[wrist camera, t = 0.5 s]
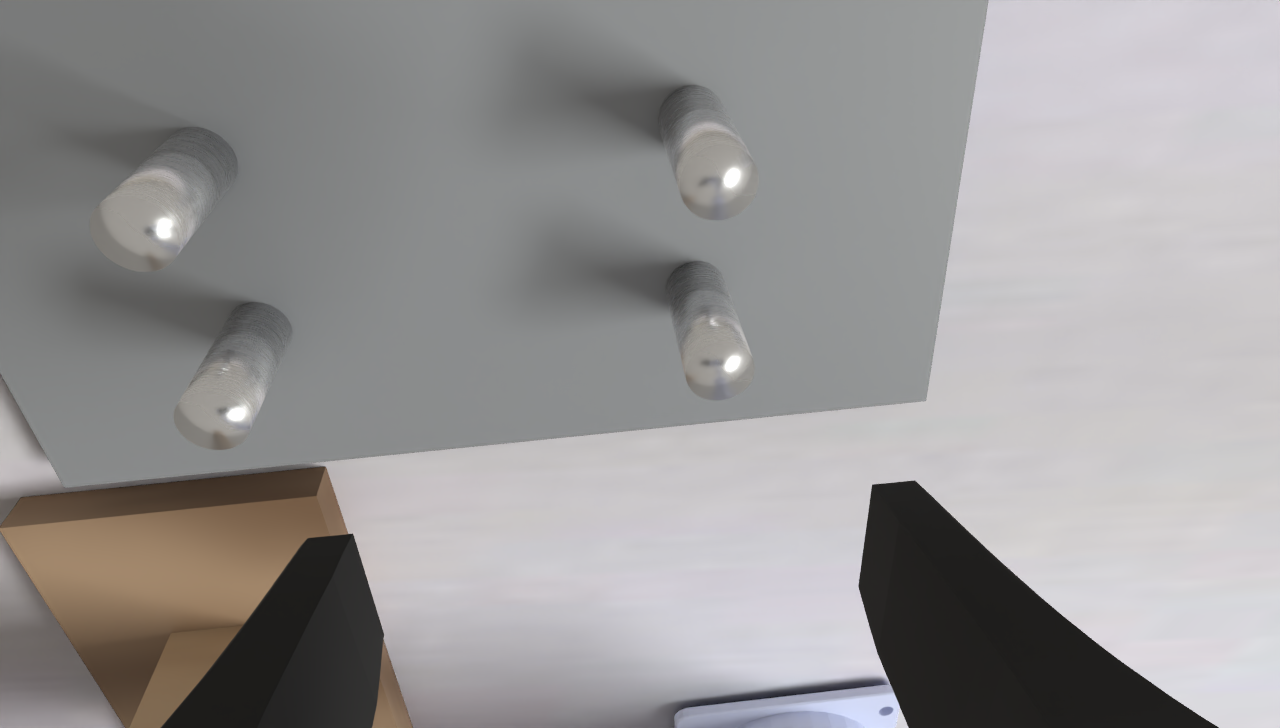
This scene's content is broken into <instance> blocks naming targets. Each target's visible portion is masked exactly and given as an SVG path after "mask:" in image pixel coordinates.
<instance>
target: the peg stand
mask: <svg viewBox="0 0 1280 728" xmlns="http://www.w3.org/2000/svg"><path fill="white" fill-rule="evenodd" d="M987 7H988V0H0V374H1V376H2V377H3V379H4V381H5V383H6V385H7V386H8V388H9V390H10V392H11V393H12V395H13V397H14V399H15V401H16V402H17V404H18V406H19V408H20V410H21V411H22V413H23V415H24V417H25V418H26V420H27V422H28V424H29V426H30V427H31V429H32V431H33V433H34V435H35V436H36V438H37V440H38V442H39V443H40V445H41V447H42V449H43V451H44V452H45V454H46V456H47V458H48V459H49V461H50V463H51V465H52V467H53V468H54V470H55V472H56V474H57V476H58V477H59V479H60V481H61V483H62V484H63V486H64V488H68V487H77V486H87V485H97V484H107V483H117V482H127V481H137V480H147V479H157V478H167V477H177V476H187V475H197V474H206V473H216V472H226V471H236V470H246V469H256V468H266V467H276V466H286V465H296V464H306V463H316V462H326V461H335V460H345V459H355V458H365V457H375V456H385V455H395V454H405V453H415V452H425V451H435V450H445V449H455V448H464V447H474V446H484V445H494V444H504V443H514V442H524V441H534V440H544V439H554V438H564V437H574V436H583V435H593V434H603V433H613V432H623V431H633V430H643V429H653V428H663V427H673V426H683V425H693V424H703V423H712V422H722V421H732V420H742V419H752V418H762V417H772V416H782V415H792V414H802V413H812V412H822V411H832V410H841V409H851V408H861V407H871V406H881V405H891V404H901V403H911V402H921V401H926V397H927V391H928V385H929V378H930V372H931V365H932V359H933V353H934V346H935V340H936V333H937V327H938V320H939V314H940V308H941V301H942V295H943V288H944V282H945V276H946V269H947V263H948V256H949V250H950V244H951V237H952V231H953V224H954V218H955V212H956V205H957V199H958V192H959V186H960V180H961V173H962V167H963V160H964V154H965V148H966V141H967V135H968V128H969V122H970V115H971V109H972V103H973V96H974V90H975V83H976V77H977V71H978V64H979V58H980V51H981V45H982V39H983V32H984V26H985V19H986V13H987Z"/></svg>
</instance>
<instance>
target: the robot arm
mask: <svg viewBox="0 0 1280 728" xmlns="http://www.w3.org/2000/svg"><path fill="white" fill-rule="evenodd" d="M859 590H860V594H861V597H862V601H863V604H864V608H865V612H866V615H867V619H868V622H869V626H870V629H871V633H872V636H873V639H874V643H875V646H876V649H877V653H878V655H879V658H880V660H881V663H882V665H883V667H884V670H885V672H886V675H887V677H888V679H889V682H890V684H891V685H879V686H870V687H862V688H853V689H844V690H836V691H827V692H818V693H810V694H801V695H792V696H784V697H775V698H766V699H758V700H749V701H740V702H732V703H723V704H714V705H706V706H697V707H688V708H684V709H681V710H680V711H678V712H677V713H676V714H675V717H674V725H675V728H896V724H897V719H898V713H899V708H901V710H902V713H903V715H904V717H905V720H906V722H907V724H908V727H909V728H1219V727H1217V726H1215V725H1214V724H1212V723H1210V722H1209V721H1207V720H1206V719H1204V718H1202V717H1201V716H1199V715H1198V714H1196V713H1195V712H1193V711H1192V710H1190V709H1189V708H1187V707H1186V706H1184V705H1183V704H1181V703H1180V702H1178V701H1177V700H1175V699H1174V698H1172V697H1171V696H1169V695H1168V694H1166V693H1165V692H1164V691H1162V690H1161V689H1159V688H1158V687H1156V686H1155V685H1154V684H1152V683H1151V682H1149V681H1148V680H1146V679H1145V678H1144V677H1142V676H1141V675H1139V674H1138V673H1137V672H1135V671H1134V670H1132V669H1131V668H1129V667H1128V666H1127V665H1125V664H1124V663H1122V662H1121V661H1120V660H1118V659H1117V658H1116V657H1114V656H1113V655H1112V654H1110V653H1109V652H1108V651H1106V650H1105V649H1104V648H1102V647H1101V646H1100V645H1098V644H1097V643H1096V642H1095V641H1093V640H1092V639H1091V638H1090V637H1088V636H1087V635H1086V634H1085V633H1083V632H1082V631H1081V630H1080V629H1078V628H1077V627H1076V626H1075V625H1073V624H1072V623H1071V622H1070V621H1068V620H1067V619H1066V618H1065V617H1063V616H1062V615H1061V614H1060V613H1059V612H1057V611H1056V610H1055V609H1054V608H1053V607H1052V606H1050V605H1049V604H1048V603H1047V602H1046V601H1044V600H1043V599H1042V598H1041V597H1040V596H1039V595H1037V594H1036V593H1035V592H1034V591H1033V590H1032V589H1031V588H1030V587H1028V586H1027V585H1026V584H1025V583H1024V582H1023V581H1022V580H1021V579H1019V578H1018V577H1017V576H1016V575H1015V574H1014V573H1013V572H1012V571H1010V570H1009V569H1008V568H1007V567H1006V566H1005V565H1004V564H1003V563H1001V562H1000V561H999V560H998V559H997V558H996V557H995V556H994V555H993V554H992V553H991V552H990V551H988V550H987V549H986V548H985V547H984V546H983V545H982V544H981V543H980V542H979V541H978V540H977V539H976V538H975V537H974V536H973V535H971V534H970V533H969V532H968V531H967V530H966V529H965V528H964V527H963V526H962V525H961V524H960V523H959V522H958V521H957V520H956V519H955V518H954V517H953V516H952V515H951V514H950V513H949V512H947V511H946V510H945V509H944V508H943V507H942V506H941V505H940V504H939V503H938V502H937V501H936V500H935V499H934V498H933V497H932V496H931V495H930V494H929V493H928V492H927V491H926V490H924V489H923V488H922V487H921V486H920V485H919V484H918V483H917V482H916V481H907V482H896V483H886V484H875V485H872V491H871V498H870V505H869V513H868V520H867V528H866V535H865V542H864V550H863V557H862V565H861V572H860V579H859ZM383 638H384V633H383V630H382V626H381V623H380V620H379V617H378V613H377V610H376V607H375V604H374V600H373V597H372V594H371V591H370V588H369V584H368V581H367V578H366V575H365V571H364V568H363V565H362V562H361V558H360V555H359V552H358V549H357V545H356V542H355V539H354V536H353V534H345V535H334V536H324V537H313V538H307V539H306V541H305V542H304V543H303V544H302V545H301V546H300V548H299V549H298V550H297V552H296V553H295V555H294V556H293V557H292V559H291V560H290V562H289V563H288V564H287V566H286V567H285V568H284V570H283V571H282V573H281V574H280V575H279V577H278V578H277V580H276V581H275V582H274V584H273V585H272V587H271V588H270V589H269V591H268V592H267V594H266V595H265V596H264V598H263V599H262V600H261V602H260V603H259V605H258V606H257V607H256V609H255V610H254V611H253V613H252V614H251V615H250V617H249V618H248V619H247V621H246V622H245V624H244V625H243V626H242V627H241V629H240V630H239V631H238V633H237V634H236V635H235V637H234V638H233V639H232V640H231V642H230V643H229V644H228V646H227V647H226V648H225V650H224V651H223V652H222V653H221V655H220V656H219V657H218V659H217V660H216V661H215V662H214V664H213V665H212V666H211V668H210V669H209V670H208V671H207V673H206V674H205V675H204V676H203V678H202V679H201V680H200V681H199V683H198V684H197V685H196V686H195V687H194V689H193V690H192V691H191V692H190V693H189V695H188V696H187V697H186V698H185V699H184V700H183V702H182V703H181V704H180V705H179V706H178V708H177V709H176V710H175V711H174V712H173V714H172V715H171V716H170V717H169V718H168V719H167V721H166V722H165V723H164V724H163V725H162V727H161V728H372V726H373V721H374V716H375V711H376V707H377V699H378V690H379V681H380V671H381V660H382V649H383Z"/></svg>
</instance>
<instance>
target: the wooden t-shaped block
mask: <svg viewBox="0 0 1280 728" xmlns="http://www.w3.org/2000/svg"><path fill="white" fill-rule="evenodd" d="M0 532H1V533H2V535H3V536H4V538H5V539H6V541H7V543H8V544H9V546H10V547H11V549H12V550H13V552H14V554H15V555H16V557H17V558H18V560H19V561H20V563H21V565H22V566H23V568H24V569H25V571H26V572H27V574H28V576H29V577H30V579H31V580H32V582H33V583H34V585H35V587H36V588H37V590H38V591H39V593H40V594H41V596H42V598H43V599H44V601H45V602H46V604H47V605H48V607H49V609H50V610H51V612H52V613H53V615H54V616H55V618H56V620H57V621H58V623H59V624H60V626H61V627H62V629H63V631H64V632H65V634H66V635H67V637H68V638H69V640H70V642H71V643H72V645H73V646H74V648H75V650H76V651H77V653H78V654H79V656H80V657H81V659H82V661H83V662H84V664H85V665H86V667H87V668H88V670H89V672H90V673H91V675H92V676H93V678H94V679H95V681H96V683H97V684H98V686H99V687H100V689H101V690H102V692H103V694H104V695H105V697H106V698H107V700H108V701H109V703H110V705H111V706H112V708H113V709H114V711H115V712H116V714H117V716H118V717H119V719H120V720H121V722H122V723H123V725H124V727H125V728H161V727H162V725H163V724H164V723H165V722H166V721H167V719H168V718H169V717H170V716H171V715H172V714H173V712H174V711H175V710H176V709H177V708H178V706H179V705H180V704H181V703H182V702H183V700H184V699H185V698H186V697H187V696H188V695H189V693H190V692H191V691H192V690H193V689H194V687H195V686H196V685H197V684H198V683H199V681H200V680H201V679H202V678H203V676H204V675H205V674H206V673H207V671H208V670H209V669H210V668H211V666H212V665H213V664H214V662H215V661H216V660H217V659H218V657H219V656H220V655H221V653H222V652H223V651H224V650H225V648H226V647H227V646H228V644H229V643H230V642H231V640H232V639H233V638H234V637H235V635H236V634H237V633H238V631H239V630H240V629H241V627H242V626H243V625H244V624H245V622H246V621H247V619H248V618H249V617H250V615H251V614H252V613H253V611H254V610H255V609H256V607H257V606H258V605H259V603H260V602H261V600H262V599H263V598H264V596H265V595H266V594H267V592H268V591H269V589H270V588H271V587H272V585H273V584H274V582H275V581H276V580H277V578H278V577H279V575H280V574H281V573H282V571H283V570H284V568H285V567H286V566H287V564H288V563H289V562H290V560H291V559H292V557H293V556H294V555H295V553H296V552H297V550H298V549H299V548H300V546H301V545H302V544H303V543H304V542H305V541H306V539H307V538H313V537H324V536H334V535H345V534H348V532H347V529H346V526H345V523H344V520H343V517H342V514H341V511H340V508H339V505H338V502H337V499H336V496H335V493H334V490H333V487H332V484H331V481H330V478H329V475H328V472H327V469H326V467H317V468H307V469H297V470H287V471H277V472H268V473H258V474H248V475H238V476H228V477H218V478H208V479H198V480H188V481H178V482H169V483H159V484H149V485H139V486H129V487H119V488H109V489H99V490H89V491H80V492H70V493H60V494H50V495H40V496H30V497H21V498H20V500H19V501H18V502H17V504H16V505H15V507H14V508H13V509H12V511H11V512H10V513H9V515H8V516H7V517H6V519H5V520H4V522H3V523H2V524H1V526H0ZM372 728H413V727H412V724H411V721H410V718H409V715H408V712H407V709H406V706H405V703H404V700H403V697H402V694H401V691H400V688H399V685H398V682H397V679H396V676H395V673H394V670H393V667H392V664H391V661H390V658H389V655H388V652H387V649H386V646H385V643H384V640H383V649H382V660H381V671H380V681H379V690H378V699H377V707H376V711H375V716H374V721H373V726H372Z"/></svg>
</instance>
